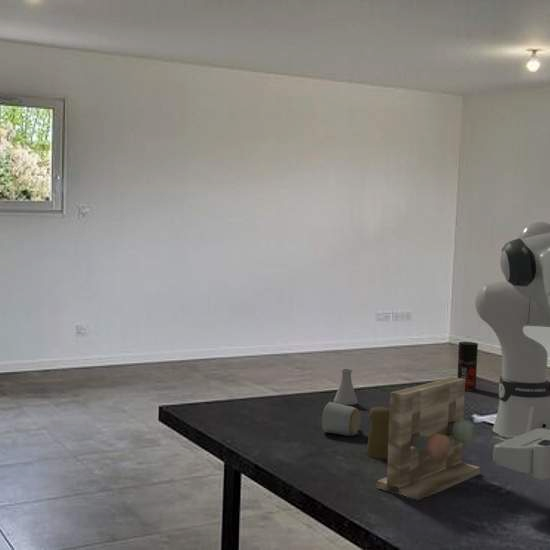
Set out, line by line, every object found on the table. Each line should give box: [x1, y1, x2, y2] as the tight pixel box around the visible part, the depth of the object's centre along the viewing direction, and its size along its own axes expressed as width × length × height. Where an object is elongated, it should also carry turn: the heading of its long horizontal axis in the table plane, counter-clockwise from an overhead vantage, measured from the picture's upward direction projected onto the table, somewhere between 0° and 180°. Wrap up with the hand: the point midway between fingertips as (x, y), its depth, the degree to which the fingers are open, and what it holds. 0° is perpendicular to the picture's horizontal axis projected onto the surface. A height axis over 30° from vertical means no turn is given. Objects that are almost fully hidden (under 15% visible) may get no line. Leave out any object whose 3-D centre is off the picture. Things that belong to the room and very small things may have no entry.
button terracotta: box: [411, 433, 450, 459], centre depth 159 cm, size 7×5×5 cm, turn 47°
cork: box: [365, 406, 390, 459], centre depth 184 cm, size 6×6×11 cm
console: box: [376, 376, 481, 501], centre depth 166 cm, size 10×24×20 cm, turn 137°
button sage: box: [448, 419, 475, 444], centre depth 171 cm, size 7×5×5 cm, turn 47°
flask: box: [333, 368, 359, 406], centre depth 235 cm, size 7×7×10 cm
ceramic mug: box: [321, 401, 362, 437], centre depth 203 cm, size 11×8×8 cm
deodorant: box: [456, 341, 479, 392], centre depth 259 cm, size 6×6×15 cm
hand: (494, 439), depth 162 cm, fingers closed
